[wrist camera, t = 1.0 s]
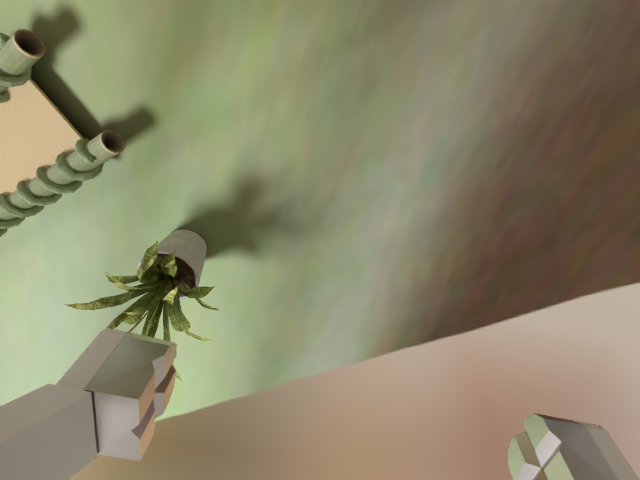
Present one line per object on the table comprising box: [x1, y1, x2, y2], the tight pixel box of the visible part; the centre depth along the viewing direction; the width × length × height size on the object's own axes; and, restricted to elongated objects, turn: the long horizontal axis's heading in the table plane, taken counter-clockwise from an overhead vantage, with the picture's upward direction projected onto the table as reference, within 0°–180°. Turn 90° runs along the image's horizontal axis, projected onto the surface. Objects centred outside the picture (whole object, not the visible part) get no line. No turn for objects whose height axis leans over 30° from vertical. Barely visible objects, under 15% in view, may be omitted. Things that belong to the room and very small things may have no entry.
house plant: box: [65, 229, 218, 381], centre depth 45 cm, size 14×14×16 cm
